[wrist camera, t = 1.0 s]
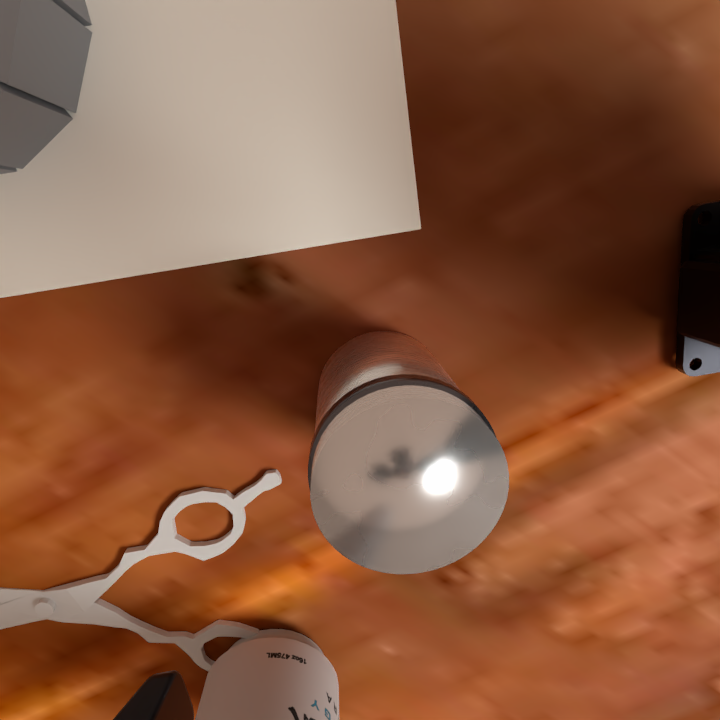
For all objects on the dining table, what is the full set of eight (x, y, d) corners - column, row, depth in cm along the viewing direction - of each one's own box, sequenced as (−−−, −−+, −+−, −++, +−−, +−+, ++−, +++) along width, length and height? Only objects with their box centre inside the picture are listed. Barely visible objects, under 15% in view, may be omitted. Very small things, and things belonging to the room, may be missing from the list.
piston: (439, 318, 18) (506, 377, 11) (452, 440, 19) (518, 558, 12) (304, 340, 17) (287, 414, 11) (328, 461, 19) (326, 592, 12)
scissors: (306, 671, 22) (-137, 721, 21) (306, 656, 22) (-121, 704, 22) (279, 472, 19) (-241, 521, 18) (281, 462, 19) (-218, 509, 19)
